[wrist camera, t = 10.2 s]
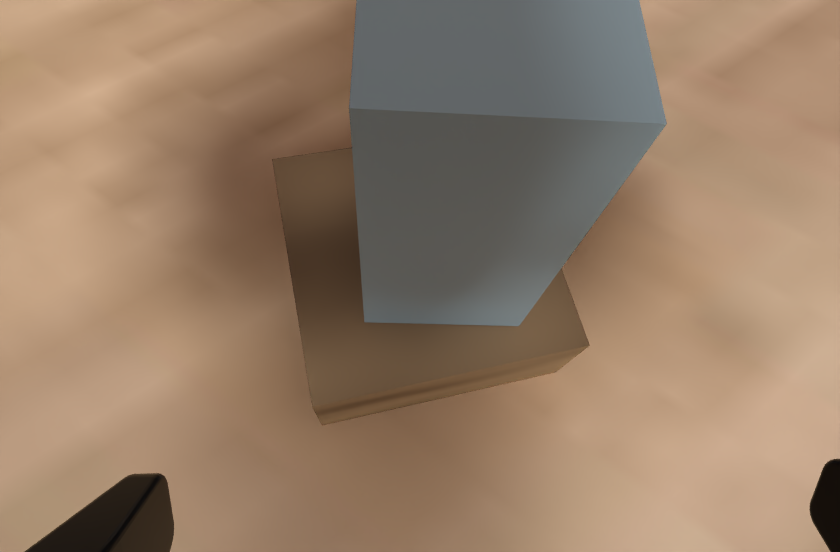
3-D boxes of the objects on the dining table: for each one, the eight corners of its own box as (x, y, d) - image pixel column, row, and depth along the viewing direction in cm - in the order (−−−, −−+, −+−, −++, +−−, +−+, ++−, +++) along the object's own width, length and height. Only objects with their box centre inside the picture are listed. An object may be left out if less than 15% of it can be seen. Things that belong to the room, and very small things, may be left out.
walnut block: (552, 374, 21) (589, 345, 18) (323, 426, 20) (312, 406, 16) (488, 182, 25) (508, 125, 21) (287, 215, 23) (272, 159, 20)
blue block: (519, 326, 18) (666, 123, 9) (364, 322, 17) (349, 108, 8) (509, 194, 20) (620, -82, 11) (370, 188, 20) (364, -101, 10)
